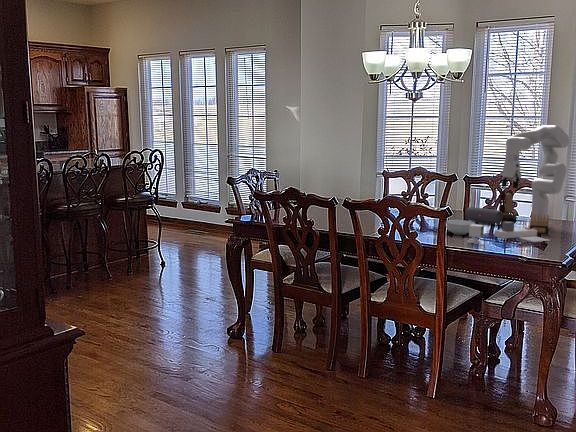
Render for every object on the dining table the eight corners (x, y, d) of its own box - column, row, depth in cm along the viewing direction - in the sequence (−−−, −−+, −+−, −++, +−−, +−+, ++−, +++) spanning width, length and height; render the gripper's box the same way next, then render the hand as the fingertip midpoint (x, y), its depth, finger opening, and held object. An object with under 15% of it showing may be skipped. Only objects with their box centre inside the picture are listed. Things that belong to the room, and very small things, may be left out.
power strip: (526, 233, 357) (527, 226, 357) (536, 235, 350) (537, 229, 349) (494, 236, 349) (494, 229, 348) (503, 238, 341) (504, 231, 341)
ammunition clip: (548, 234, 356) (549, 214, 354) (548, 234, 354) (549, 214, 352) (528, 233, 359) (530, 213, 358) (528, 233, 358) (530, 213, 356)
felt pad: (535, 237, 346) (535, 236, 346) (550, 241, 335) (551, 240, 335) (518, 238, 342) (518, 237, 341) (534, 242, 330) (534, 241, 330)
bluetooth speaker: (464, 221, 399) (464, 207, 398) (471, 220, 406) (472, 205, 404) (495, 226, 383) (496, 210, 381) (502, 224, 389) (503, 209, 388)
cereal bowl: (454, 236, 347) (455, 224, 346) (439, 231, 363) (440, 220, 361) (480, 235, 351) (480, 223, 350) (464, 230, 367) (465, 219, 366)
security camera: (479, 244, 324) (480, 226, 322) (467, 243, 328) (467, 225, 326) (482, 242, 329) (483, 224, 328) (470, 241, 333) (471, 223, 331)
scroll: (504, 222, 400) (506, 192, 397) (489, 218, 413) (490, 190, 410) (521, 220, 405) (523, 191, 402) (505, 217, 419) (507, 189, 416)
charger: (508, 232, 350) (509, 221, 349) (513, 234, 346) (514, 222, 345) (501, 233, 348) (502, 222, 347) (506, 234, 344) (507, 223, 343)
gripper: (527, 159, 343) (525, 188, 345) (507, 158, 359) (504, 186, 361) (517, 158, 340) (514, 188, 342) (497, 157, 356) (494, 186, 359)
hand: (509, 187), depth 352 cm, fingers open, 9 cm apart
